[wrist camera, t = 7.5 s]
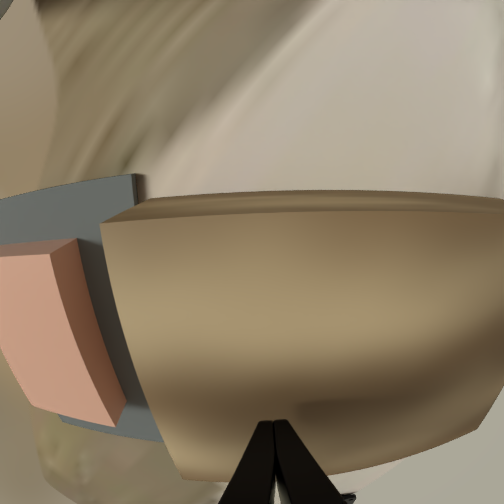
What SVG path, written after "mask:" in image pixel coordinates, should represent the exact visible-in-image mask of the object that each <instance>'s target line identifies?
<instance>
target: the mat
mask: <svg viewBox="0 0 504 504" xmlns="http://www.w3.org/2000/svg"><path fill="white" fill-rule="evenodd" d="M137 204H138V198H137V188H136V177H135V174H127V175H120V176H113V177H107V178H100V179H94V180H88V181H82V182H77V183H71V184H66V185H61V186H56V187H51V188H46V189H42V190H37V191H33V192H29V193H24V194H20V195H16V196H12V197H8V198H4V199H0V245H5V244H15V243H26V242H36V241H47V240H59V239H71V238H77V242H78V247H79V252H80V257H81V262H82V266H83V271H84V275H85V279H86V283H87V287H88V291H89V295H90V298H91V302H92V306H93V309H94V313H95V316H96V319H97V322H98V326H99V329H100V332H101V335H102V338H103V341H104V344H105V347H106V350H107V352H108V355H109V358H110V361H111V363H112V366H113V369H114V371H115V374H116V376H117V379H118V381H119V384H120V386H121V388H122V391H123V393H124V395H125V398H126V400H127V402H126V404H125V406H124V409H123V411H122V413H121V416H120V418H119V421H118V423H117V426H116V427H111V426H106V425H101V424H97V423H92V422H88V421H84V420H80V419H76V418H72V417H68V416H65V415H61V414H58V413H57V414H58V415H59V417H60V419H61V420H62V422H65V423H68V424H72V425H75V426H79V427H83V428H87V429H91V430H95V431H100V432H104V433H109V434H114V435H119V436H125V437H130V438H136V439H143V440H150V441H158V442H164V440H163V438H162V436H161V434H160V431H159V429H158V427H157V425H156V422H155V420H154V418H153V415H152V413H151V410H150V408H149V405H148V403H147V400H146V398H145V395H144V392H143V390H142V387H141V384H140V382H139V379H138V376H137V373H136V370H135V367H134V364H133V362H132V358H131V355H130V352H129V349H128V346H127V343H126V339H125V336H124V333H123V329H122V326H121V322H120V318H119V315H118V311H117V307H116V303H115V299H114V295H113V291H112V287H111V282H110V278H109V273H108V269H107V264H106V259H105V253H104V248H103V242H102V237H101V230H100V223H102V222H104V221H105V220H107V219H109V218H111V217H113V216H115V215H117V214H119V213H121V212H123V211H125V210H127V209H129V208H131V207H133V206H135V205H137Z"/></svg>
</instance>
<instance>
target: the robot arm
mask: <svg viewBox="0 0 504 504" xmlns="http://www.w3.org/2000/svg"><path fill="white" fill-rule="evenodd" d="M276 482H277V488H278V492H279V497H280V501H281V504H353V502H354V501H355V500H356V495H355V494H353V495H347V496H342V495H341V494H340V493H339V491H338V490H337V489H336V488H335V486H334V485H333V484H332V482H331V481H330V479H329V478H328V477H327V475H326V474H325V473H324V471H323V470H322V469H321V467H320V466H319V464H318V463H317V462H316V460H315V459H314V457H313V456H312V455H311V453H310V452H309V450H308V449H307V447H306V446H305V445H304V443H303V442H302V440H301V439H300V437H299V436H298V434H297V433H296V431H295V430H294V429H293V427H292V426H291V424H290V423H289V421H288V420H287V419H279V420H274V421H271V420H264V421H259V422H258V424H257V426H256V428H255V430H254V432H253V434H252V437H251V439H250V441H249V443H248V445H247V447H246V449H245V451H244V454H243V456H242V458H241V460H240V462H239V464H238V466H237V468H236V470H235V472H234V474H233V476H232V478H231V480H230V482H229V484H228V486H227V488H226V490H225V491H224V493H223V495H222V497H221V499H220V501H219V503H218V504H274V497H275V486H276Z"/></svg>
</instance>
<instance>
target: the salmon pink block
mask: <svg viewBox="0 0 504 504" xmlns="http://www.w3.org/2000/svg"><path fill="white" fill-rule="evenodd" d="M0 348H1V350H2V352H3V354H4V356H5V358H6V360H7V362H8V364H9V365H10V368H11V370H12V372H13V374H14V375H15V377H16V379H17V381H18V382H19V384H20V386H21V388H22V390H23V391H24V393H25V395H26V396H27V398H28V400H29V401H30V403H31V404H32V406H35V407H38V408H41V409H45V410H48V411H51V412H54V413H58V414H61V415H65V416H68V417H72V418H76V419H80V420H84V421H88V422H92V423H97V424H101V425H106V426H111V427H116V426H117V423H118V421H119V418H120V416H121V413H122V411H123V409H124V406H125V404H126V402H127V400H126V398H125V395H124V393H123V391H122V388H121V386H120V384H119V381H118V379H117V376H116V374H115V371H114V369H113V366H112V363H111V361H110V358H109V355H108V352H107V350H106V347H105V344H104V341H103V338H102V335H101V332H100V329H99V326H98V322H97V319H96V316H95V313H94V309H93V306H92V302H91V298H90V295H89V291H88V287H87V283H86V279H85V275H84V271H83V266H82V262H81V257H80V252H79V247H78V242H77V238H71V239H59V240H47V241H36V242H26V243H15V244H5V245H0Z"/></svg>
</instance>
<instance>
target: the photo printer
mask: <svg viewBox="0 0 504 504" xmlns="http://www.w3.org/2000/svg"><path fill="white" fill-rule="evenodd" d="M12 2H13V0H0V19H1V18H2V17H3V15H4V14H5V13H6V11H7V10H8V8H9V7H10V5H11V3H12Z"/></svg>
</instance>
